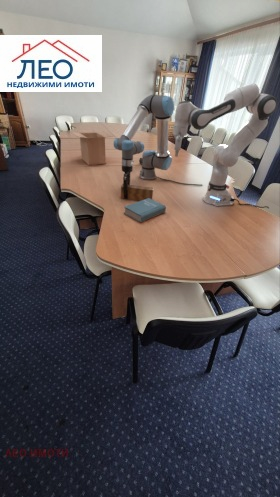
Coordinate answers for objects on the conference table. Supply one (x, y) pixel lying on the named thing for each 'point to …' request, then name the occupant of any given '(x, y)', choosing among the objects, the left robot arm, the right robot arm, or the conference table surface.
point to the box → (92, 146)
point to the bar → (138, 192)
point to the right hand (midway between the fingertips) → (176, 154)
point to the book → (144, 209)
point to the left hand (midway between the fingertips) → (126, 196)
